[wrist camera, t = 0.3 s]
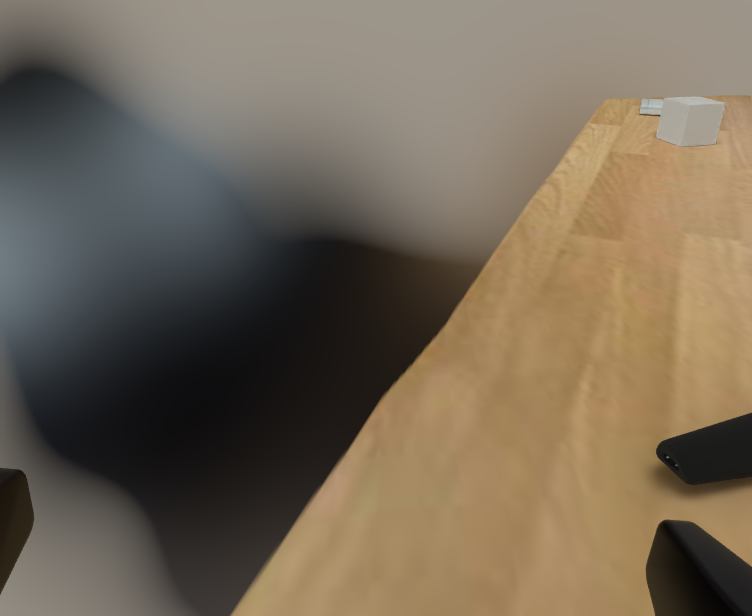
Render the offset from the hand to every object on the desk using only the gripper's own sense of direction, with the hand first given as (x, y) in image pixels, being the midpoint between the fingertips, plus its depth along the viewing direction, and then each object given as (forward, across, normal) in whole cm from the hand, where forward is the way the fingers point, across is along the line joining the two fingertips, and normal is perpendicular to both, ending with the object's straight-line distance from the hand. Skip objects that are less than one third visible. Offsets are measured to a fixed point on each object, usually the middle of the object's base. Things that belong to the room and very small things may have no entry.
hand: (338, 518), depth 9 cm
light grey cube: (+94, -44, +6) cm, 104 cm away
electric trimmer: (+23, -22, +14) cm, 35 cm away
